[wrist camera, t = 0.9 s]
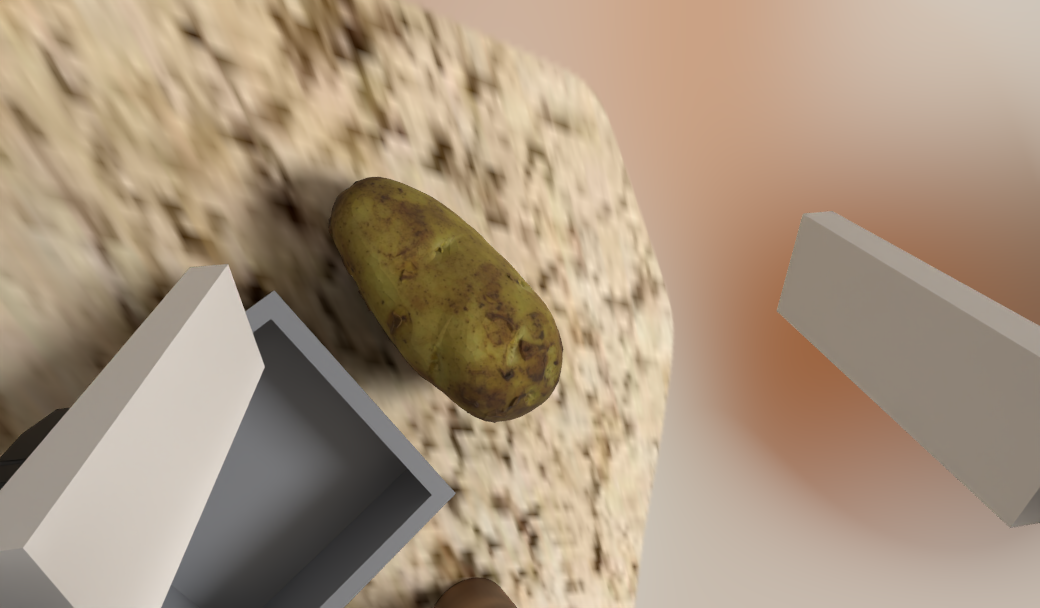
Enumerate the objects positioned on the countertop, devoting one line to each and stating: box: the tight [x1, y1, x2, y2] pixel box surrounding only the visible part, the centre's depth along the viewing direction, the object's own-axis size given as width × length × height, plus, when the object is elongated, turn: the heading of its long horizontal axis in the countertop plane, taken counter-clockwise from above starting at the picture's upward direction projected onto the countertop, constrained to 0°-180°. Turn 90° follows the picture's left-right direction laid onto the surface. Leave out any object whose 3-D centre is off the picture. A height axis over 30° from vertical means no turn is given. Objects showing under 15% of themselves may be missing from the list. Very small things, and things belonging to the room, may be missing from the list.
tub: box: [161, 291, 456, 608], centre depth 23 cm, size 12×12×5 cm
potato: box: [329, 177, 563, 423], centre depth 25 cm, size 8×13×8 cm, turn 21°
